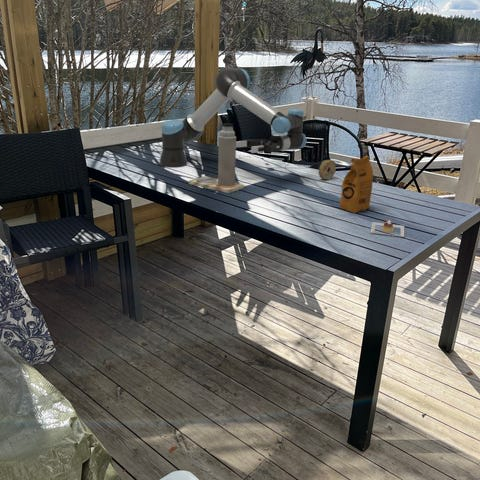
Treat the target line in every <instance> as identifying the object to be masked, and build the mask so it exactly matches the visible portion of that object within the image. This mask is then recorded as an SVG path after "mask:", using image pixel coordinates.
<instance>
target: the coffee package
mask: <svg viewBox="0 0 480 480" xmlns="http://www.w3.org/2000/svg"><path fill="white" fill-rule="evenodd" d="M350 162H352V165H351V166H350V170H349V171H348V172H347V173H346V175H345V177H344V179H343V181H342V185H341V195H340V202H339V206H340V209H341V210H344V211H347V212H350V213H353V214H355V213H359V212H360V211H366V210H367V209H369V208H370V203H371V196H372V190H373V180H374V179H373V178H374V169H373V167H372V164H371V163H372V162H371V161H370V158H369V155H365V156H363V157H362V158H357V157H356V158H354V157H353V158H352V159H351V160H350Z"/></svg>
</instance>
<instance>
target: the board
mask: <svg viewBox="0 0 480 480" xmlns="http://www.w3.org/2000/svg"><path fill="white" fill-rule="evenodd" d="M188 185H192V186H195V187H196V186H197V187H201V188H206V189H209V190H214V191H217V192H222V193H225V194H226V193H227V194H230V193H233V192H236V191H238V190H241V189H244V188H245V184H243V183H239V182H235V185H233V186H221V185H218V178H215V177H210V176H206V175H204V176H200V177H196V178H194V179H190V180H188Z"/></svg>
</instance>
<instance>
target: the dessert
mask: <svg viewBox="0 0 480 480" xmlns="http://www.w3.org/2000/svg"><path fill="white" fill-rule="evenodd" d="M376 226H382V228H381V229H380V230H381V232H375V231H376ZM394 228H396V229H397V228H398V229H400V235H398V234H397V235H396V234H392V233H394V230H395V229H394ZM382 232H383V233H382ZM388 233H391V234H388ZM370 234H374V235H375V234H376V235H382V236H390V237H398V238H403V237H404V238H405V225H401V224H394V223H392V221H391V220H390V219H389V220H386V221H385V222H384V223H383V222H375V221H372V223H371V229H370Z"/></svg>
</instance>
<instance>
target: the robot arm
mask: <svg viewBox="0 0 480 480" xmlns="http://www.w3.org/2000/svg"><path fill="white" fill-rule="evenodd" d="M250 83H251V77H250V75H249V73H248V72H247V71H246V70H245V69H244V68H239V67H235V68H225V69H222V70H220V71H218V72H217V74H216V76H215V79H214V84H215V89H214V90H213V92H212V93H211V94H210V95H209V96H208V97H207V98H206V99H205V101H203V103H202V104H201V105H200V106H199V107H198V108H197V109H196V110H195V111H194V112H193V114H192V113H190V114H188V115H187V116H186V117H185V118H184V119H183V120H181V119H172V120H171V119H169V120H166V121H164V122H162V124H161V144H162V146H161V148H162V150H161V156H160V159H159V165H160V166H161V167H166V166H167V168H178V167H179V168H180V167H184V166H187V165H188V159H187V157H186V153H185V149H184V148H185V147H184V146H185V145H184V144H186V143H189V142H194V141H197V140H198V139H200V138H201V136H203V131H204V130H205V125H206V124H207V123H208V122H209V121H210V120H211V119H212V118H213V117H214V115H216V114H217V113H218V112H219V110H221V109H222V108H223V107H224V105H225V104H226V103H227V102H228V101H229V100H234V101H236V102H237V103H238V104H240V106H243V108H245V109H247V111H249V112H251V113H253V114H254V115H256V117H259V118H260V119H261V120H263V121H264V122H266V123H267V124H269V125H270V126H272V129H273V131H274V132H275V133H276V134H279V135H271V136H270V137H269V139H261V138H260V139H247V138H245V139H244V140H239V141H237V140H236V149H237V148H247V147H250V149H251V151H250V152H251V154H254V153H256V154H257V153H262V152H263V153H266V152H267V153H271V152H274V153H275V152H281V151H282V152H284V151H289V150H298V149H302V148H304V147H305V146H306V145H307V139H308V138H307V137H306V136H307V135H305V133H303V125H304V118H305V117H304V110H303V109H298V108H291V109H289V110H288V113H287V115H285V114H284V113H282V112H281V111H280V110H278V109H277V108H275V107H273V106H272V105H271V104H269V103H268V102H266V101H265V100H263V99H262V98H260V97H259V96H257V95H256V94H254V92H251V91H250V90H248V89H249V87H250ZM280 134H281V135H280Z"/></svg>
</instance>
